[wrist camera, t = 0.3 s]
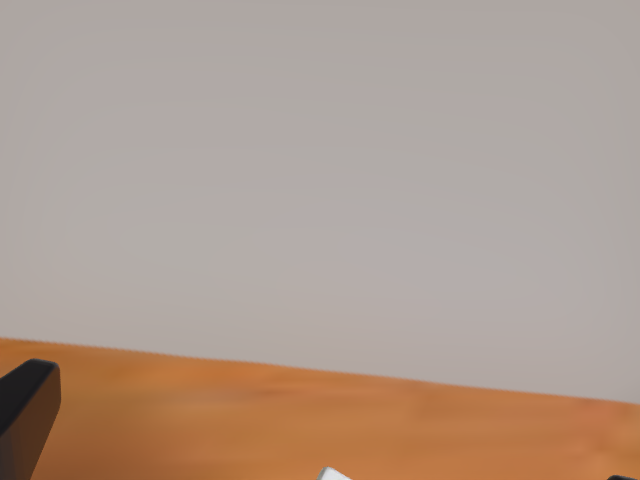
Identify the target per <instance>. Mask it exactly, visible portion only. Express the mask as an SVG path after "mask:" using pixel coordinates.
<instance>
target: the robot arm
mask: <svg viewBox="0 0 640 480" xmlns="http://www.w3.org/2000/svg"><path fill="white" fill-rule="evenodd" d="M60 403H61V384H60V368H59V366H58V364H57V363H55V362H51V361H46V360H41V359H30V360H28V361H26V362H24V363H23V364H21V365H20V366H18V367H17V368H15V369H14V370H12V371H11V372H9V373H8V374H6V375H5V376H3V377H2V378H0V480H30V478H31V476H32V473H33V471H34V469H35V466H36V464H37V461H38V459H39V457H40V454H41V452H42V450H43V447H44V445H45V442H46V440H47V438H48V435H49V433H50V430H51V428H52V426H53V423H54V421H55V418H56V416H57V414H58V411H59V408H60ZM607 480H637V479H634V478H630V477H625V476H620V475H613V476H610V477H609V478H608V479H607Z"/></svg>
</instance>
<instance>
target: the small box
mask: <svg viewBox="0 0 640 480" xmlns="http://www.w3.org/2000/svg"><path fill="white" fill-rule="evenodd" d="M317 480H351V479H349V478H348V477H346V476H344V475H343V474H341V473H339V472H338V471H336V470H335V469H333V468H331V467H324V468H323V469H322V470H321V472H320V473H319V475H318V477H317Z"/></svg>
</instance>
